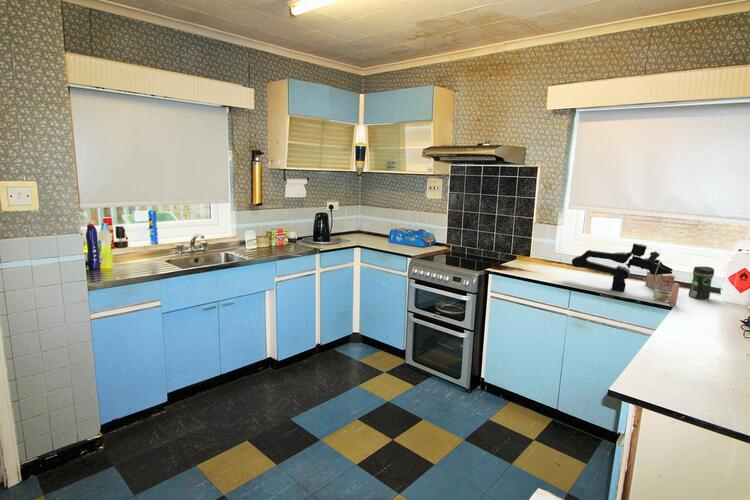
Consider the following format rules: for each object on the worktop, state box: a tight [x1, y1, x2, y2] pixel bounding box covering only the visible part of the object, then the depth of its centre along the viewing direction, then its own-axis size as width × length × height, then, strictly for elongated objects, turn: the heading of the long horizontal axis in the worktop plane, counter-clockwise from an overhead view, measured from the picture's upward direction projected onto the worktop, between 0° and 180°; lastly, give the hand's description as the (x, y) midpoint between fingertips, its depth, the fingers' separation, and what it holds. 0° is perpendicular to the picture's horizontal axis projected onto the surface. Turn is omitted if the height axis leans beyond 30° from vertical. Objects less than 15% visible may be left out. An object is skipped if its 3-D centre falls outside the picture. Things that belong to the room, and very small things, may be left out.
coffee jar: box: [688, 266, 715, 300], centre depth 248 cm, size 10×8×19 cm
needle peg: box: [668, 282, 680, 305], centre depth 233 cm, size 3×3×12 cm
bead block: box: [653, 290, 671, 303], centre depth 242 cm, size 9×9×4 cm
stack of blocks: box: [644, 270, 676, 292], centre depth 260 cm, size 21×6×12 cm, turn 169°
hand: (672, 271), depth 241 cm, fingers open, 9 cm apart
